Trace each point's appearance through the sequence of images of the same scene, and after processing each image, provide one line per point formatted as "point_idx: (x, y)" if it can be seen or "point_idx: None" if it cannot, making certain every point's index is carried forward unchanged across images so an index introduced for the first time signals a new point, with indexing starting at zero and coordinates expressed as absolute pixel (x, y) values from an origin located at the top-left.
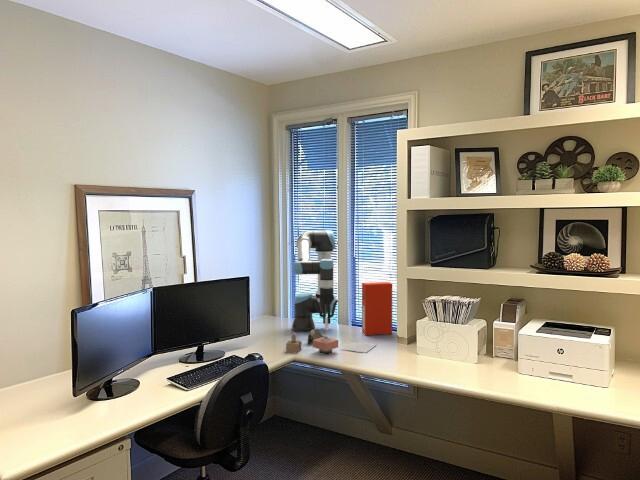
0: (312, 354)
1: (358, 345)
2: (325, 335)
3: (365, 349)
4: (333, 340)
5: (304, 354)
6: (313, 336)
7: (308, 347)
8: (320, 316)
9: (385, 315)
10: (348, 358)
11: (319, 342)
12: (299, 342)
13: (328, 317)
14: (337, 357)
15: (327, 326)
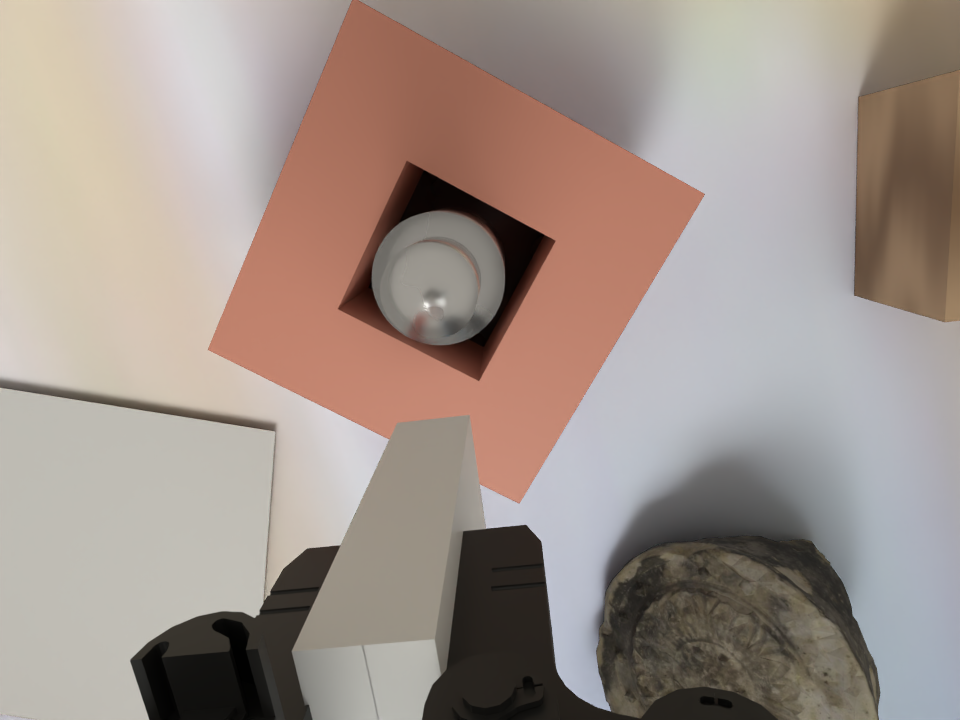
0: (623, 98)
1: (148, 638)
2: (417, 243)
3: (1, 508)
4: (283, 289)
5: (746, 57)
6: (774, 606)
7: (768, 411)
8: (722, 692)
9: None
10: (57, 77)
11: (520, 94)
12: (958, 186)
13: (192, 657)
14: (219, 72)
15: (383, 463)
